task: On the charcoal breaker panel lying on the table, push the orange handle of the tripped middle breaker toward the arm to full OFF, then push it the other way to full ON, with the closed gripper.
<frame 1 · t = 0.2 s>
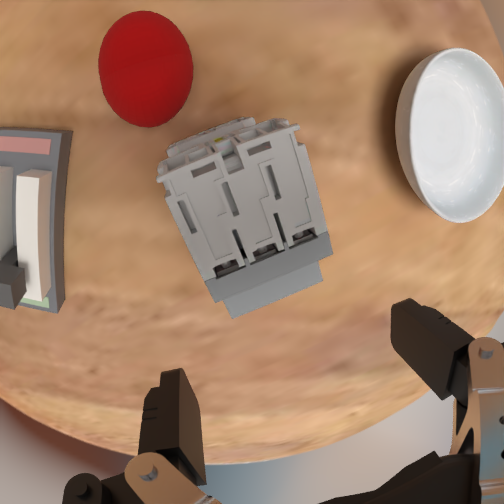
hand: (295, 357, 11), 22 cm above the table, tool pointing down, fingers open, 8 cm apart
serving bowl: (434, 128, 32), on the table
circuit breaker: (231, 196, 31), on the table
red rounded oval part: (153, 78, 24), on the table
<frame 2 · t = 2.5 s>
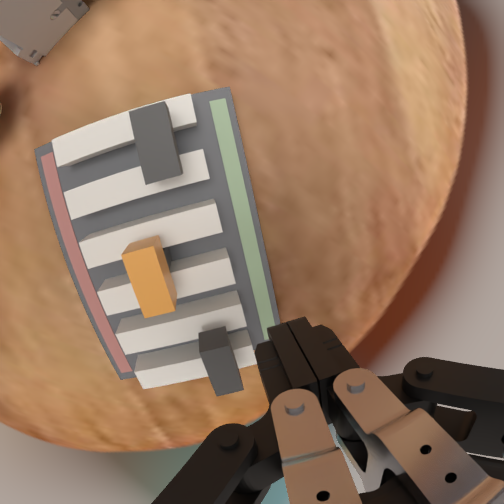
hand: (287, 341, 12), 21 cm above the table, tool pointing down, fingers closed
breaker panel: (162, 243, 30), on the table
circuit breaker: (65, 4, 20), on the table
tripped handle: (154, 266, 24), point 7 cm above the table, slide at 3.0 cm
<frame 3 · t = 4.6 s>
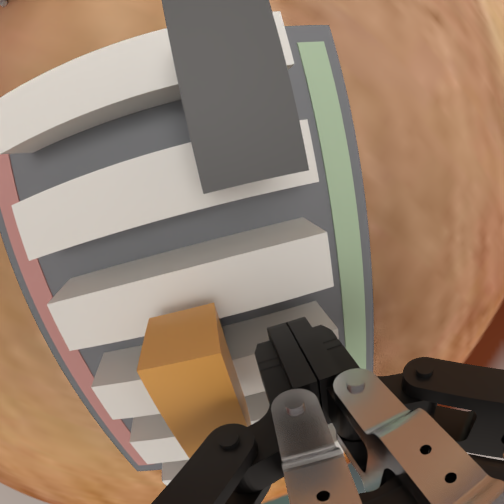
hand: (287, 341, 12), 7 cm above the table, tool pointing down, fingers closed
breaker panel: (198, 288, 18), on the table
tripped handle: (200, 357, 12), point 7 cm above the table, slide at 3.0 cm, touching gripper
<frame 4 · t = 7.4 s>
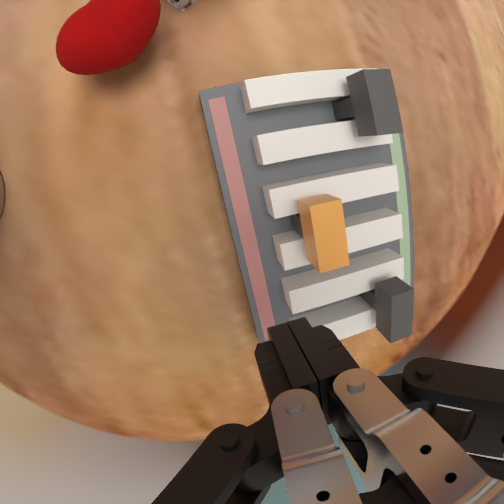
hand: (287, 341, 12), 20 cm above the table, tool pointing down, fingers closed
breaker panel: (320, 204, 31), on the table
red rounded oval part: (127, 52, 24), on the table
tripped handle: (314, 225, 25), point 7 cm above the table, slide at -0.1 cm
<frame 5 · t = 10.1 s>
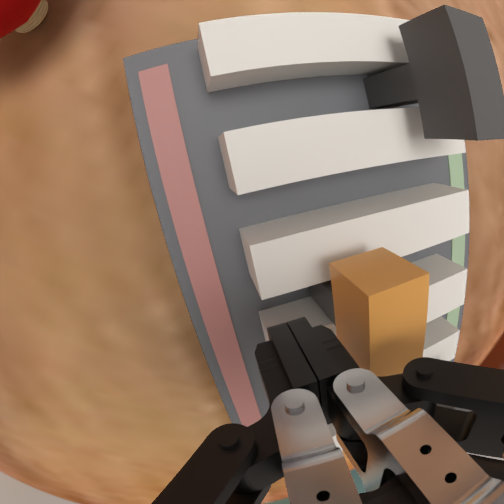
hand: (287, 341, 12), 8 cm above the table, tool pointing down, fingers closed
breaker panel: (336, 247, 19), on the table
red rounded oval part: (37, 20, 12), on the table
tripped handle: (355, 304, 13), point 7 cm above the table, slide at 0.8 cm, touching gripper
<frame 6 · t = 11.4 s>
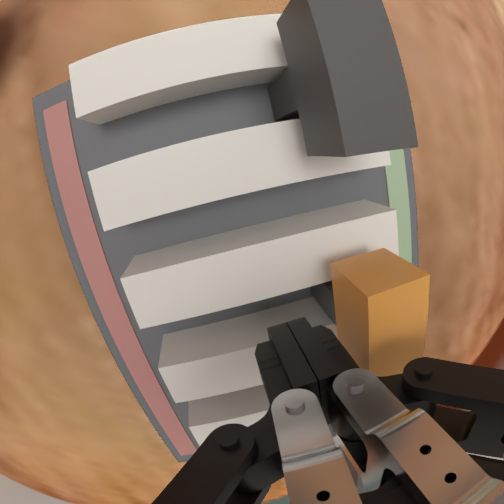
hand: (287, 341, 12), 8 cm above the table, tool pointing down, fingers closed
breaker panel: (257, 269, 19), on the table
tripped handle: (356, 305, 13), point 7 cm above the table, slide at 6.2 cm, touching gripper
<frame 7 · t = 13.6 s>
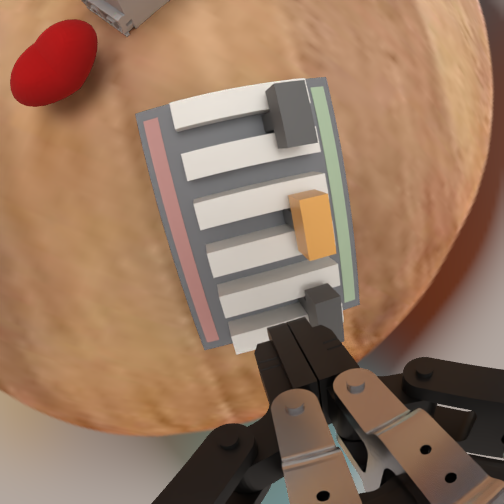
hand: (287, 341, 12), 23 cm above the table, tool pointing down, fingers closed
breaker panel: (257, 213, 33), on the table
red rounded oval part: (79, 78, 26), on the table
tripped handle: (304, 218, 27), point 7 cm above the table, slide at 6.1 cm
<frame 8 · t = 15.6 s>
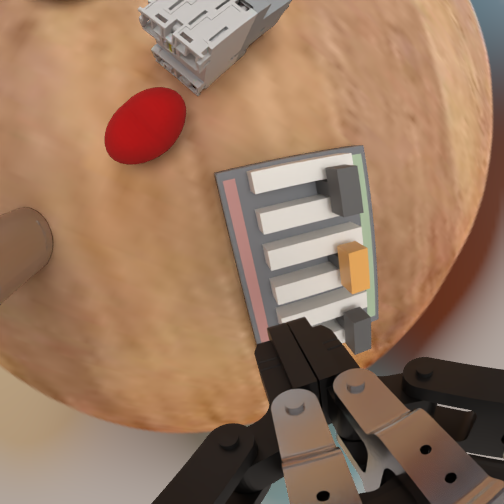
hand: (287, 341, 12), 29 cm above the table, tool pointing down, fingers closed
breaker panel: (304, 251, 42), on the table
circuit breaker: (217, 41, 32), on the table
red rounded oval part: (154, 131, 35), on the table
tripped handle: (346, 261, 36), point 7 cm above the table, slide at 6.1 cm
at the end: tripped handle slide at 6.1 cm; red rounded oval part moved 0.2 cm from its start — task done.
